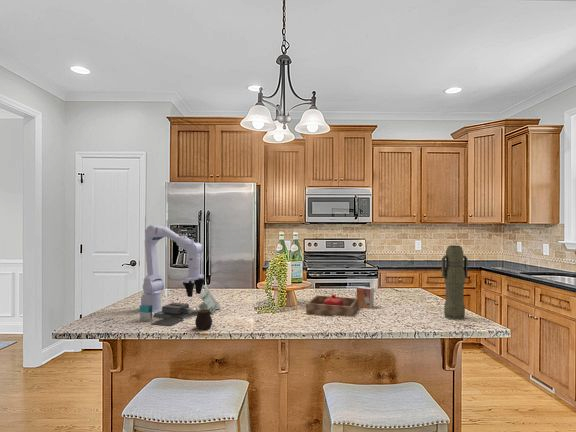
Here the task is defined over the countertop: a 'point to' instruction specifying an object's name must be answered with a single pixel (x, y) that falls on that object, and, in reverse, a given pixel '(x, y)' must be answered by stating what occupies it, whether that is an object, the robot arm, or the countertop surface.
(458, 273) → the thermos
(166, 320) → the key mat
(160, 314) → the base
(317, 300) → the brown wooden tray
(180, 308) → the grey slotted holder
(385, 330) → the countertop surface
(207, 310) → the mate gourd
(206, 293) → the metal bracket
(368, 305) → the small box
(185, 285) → the robot arm
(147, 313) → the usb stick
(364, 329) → the countertop surface
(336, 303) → the butter dish
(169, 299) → the countertop surface
